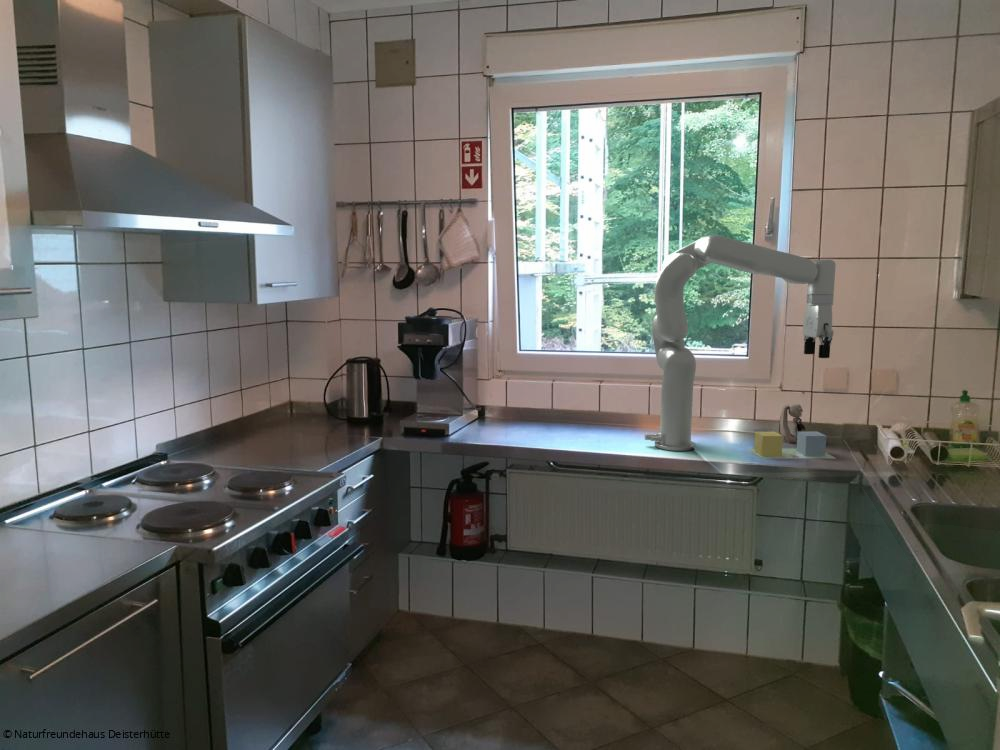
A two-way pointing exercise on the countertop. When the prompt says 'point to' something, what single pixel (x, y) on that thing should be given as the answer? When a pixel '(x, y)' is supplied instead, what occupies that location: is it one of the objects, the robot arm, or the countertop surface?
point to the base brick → (811, 443)
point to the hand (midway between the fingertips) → (816, 355)
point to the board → (793, 455)
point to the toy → (799, 427)
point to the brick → (768, 443)
